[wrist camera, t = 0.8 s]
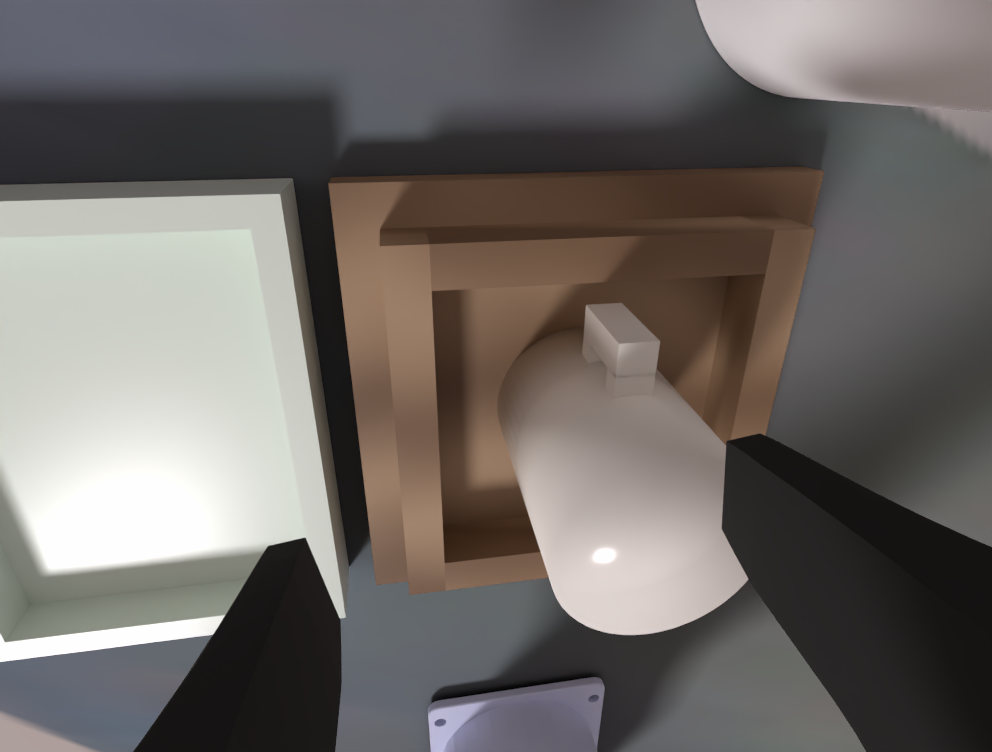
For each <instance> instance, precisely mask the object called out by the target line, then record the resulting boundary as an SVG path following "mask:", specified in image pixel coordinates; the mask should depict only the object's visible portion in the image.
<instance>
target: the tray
mask: <svg viewBox="0 0 992 752" xmlns="http://www.w3.org/2000/svg"><path fill="white" fill-rule="evenodd" d="M305 537H306V540H307V542H308V545H309V547H310V549H311V552H312V554H313V556H314V559H315V561H316V564H317V566H318V568H319V571H320V573H321V575H322V578H323V580H324V583H325V585H326V587H327V590H328V592H329V594H330V597H331V599H332V602H333V604H334V606H335V609H336V611H337V614H338V616H339V618H346V608H347V593H348V579H349V563H348V556H347V549H346V543H345V536H344V529H343V522H342V515H341V508H340V501H339V494H338V487H337V480H336V473H335V466H334V459H333V452H332V446H331V439H330V432H329V425H328V418H327V411H326V404H325V397H324V390H323V383H322V376H321V369H320V362H319V355H318V349H317V342H316V335H315V328H314V321H313V314H312V307H311V300H310V293H309V286H308V279H307V272H306V265H305V258H304V252H303V245H302V238H301V231H300V224H299V217H298V210H297V203H296V196H295V189H294V182H293V178H277V179H233V180H190V181H146V182H103V183H59V184H16V185H0V662H3V661H11V660H18V659H26V658H34V657H42V656H50V655H57V654H65V653H73V652H81V651H89V650H96V649H104V648H112V647H120V646H128V645H135V644H143V643H151V642H159V641H166V640H174V639H182V638H190V637H198V636H205V635H213V634H214V632H215V631H216V629H217V628H218V626H219V625H220V623H221V621H222V620H223V618H224V616H225V615H226V613H227V612H228V610H229V608H230V607H231V605H232V603H233V602H234V600H235V599H236V597H237V595H238V594H239V592H240V590H241V589H242V587H243V585H244V584H245V582H246V580H247V579H248V577H249V575H250V574H251V572H252V570H253V569H254V567H255V565H256V564H257V562H258V561H259V559H260V557H261V556H262V554H263V552H264V551H265V550H266V548H267V547H268V546H270V545H275V544H279V543H283V542H288V541H292V540H296V539H301V538H305Z"/></svg>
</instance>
